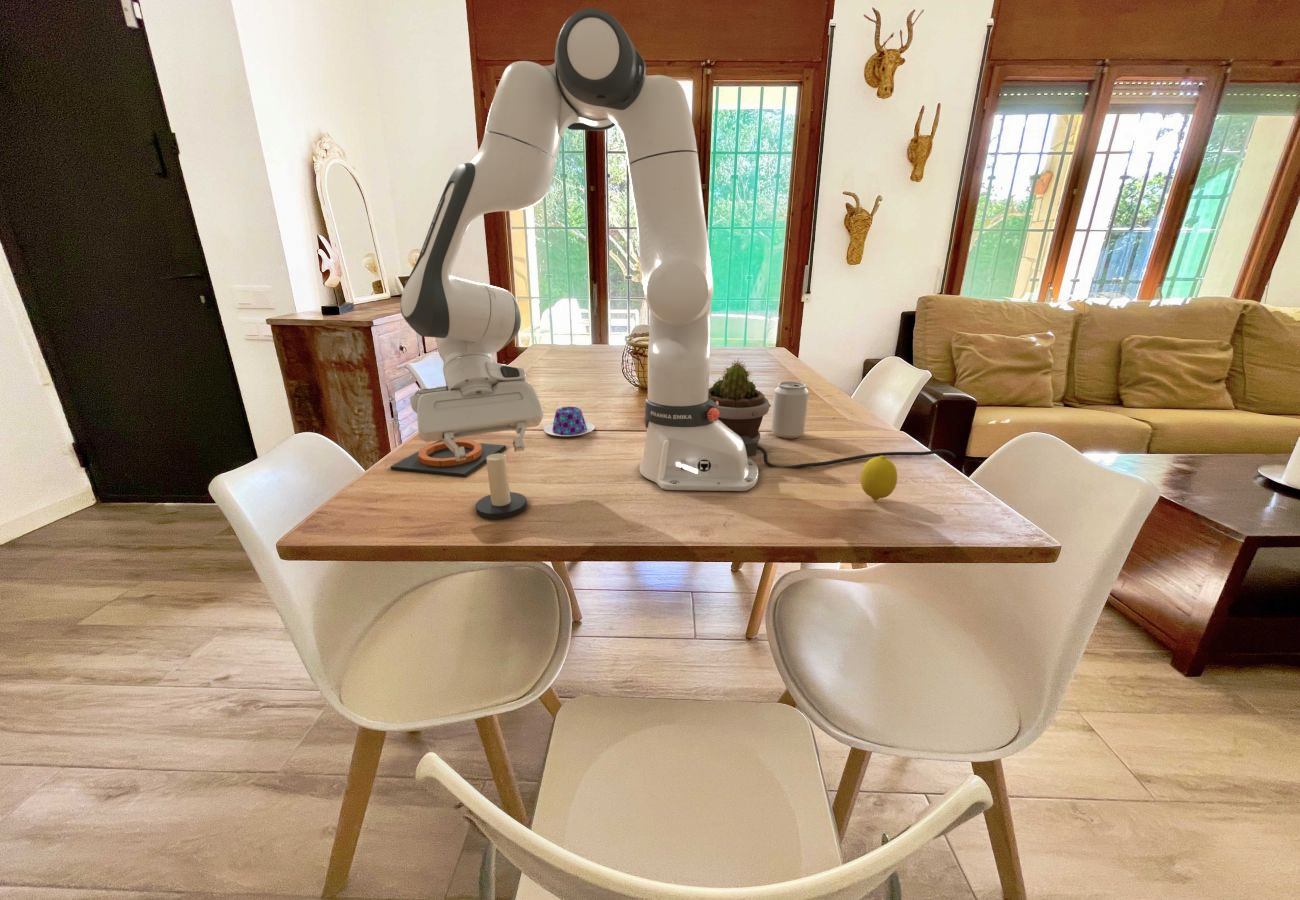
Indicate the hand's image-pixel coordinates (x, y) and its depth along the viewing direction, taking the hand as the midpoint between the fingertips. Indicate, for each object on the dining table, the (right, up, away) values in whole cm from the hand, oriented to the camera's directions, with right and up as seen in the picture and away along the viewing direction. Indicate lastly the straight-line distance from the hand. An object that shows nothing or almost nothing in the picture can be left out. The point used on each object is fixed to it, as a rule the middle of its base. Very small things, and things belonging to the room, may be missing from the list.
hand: (491, 454), depth 85 cm
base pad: (-15, -1, +21) cm, 25 cm away
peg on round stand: (+2, -9, 0) cm, 9 cm away
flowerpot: (+44, +1, +28) cm, 52 cm away
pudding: (+7, +5, +37) cm, 38 cm away
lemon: (+64, -8, +3) cm, 65 cm away
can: (+58, +4, +35) cm, 67 cm away
